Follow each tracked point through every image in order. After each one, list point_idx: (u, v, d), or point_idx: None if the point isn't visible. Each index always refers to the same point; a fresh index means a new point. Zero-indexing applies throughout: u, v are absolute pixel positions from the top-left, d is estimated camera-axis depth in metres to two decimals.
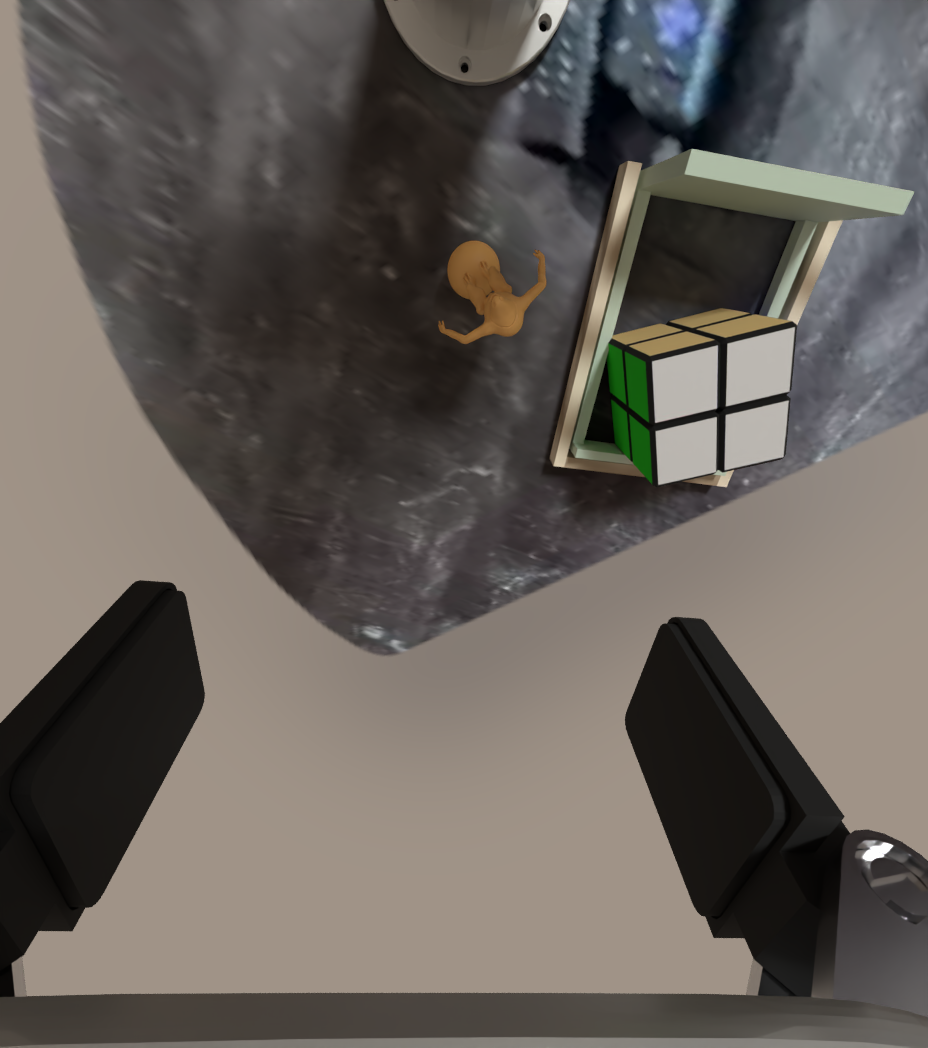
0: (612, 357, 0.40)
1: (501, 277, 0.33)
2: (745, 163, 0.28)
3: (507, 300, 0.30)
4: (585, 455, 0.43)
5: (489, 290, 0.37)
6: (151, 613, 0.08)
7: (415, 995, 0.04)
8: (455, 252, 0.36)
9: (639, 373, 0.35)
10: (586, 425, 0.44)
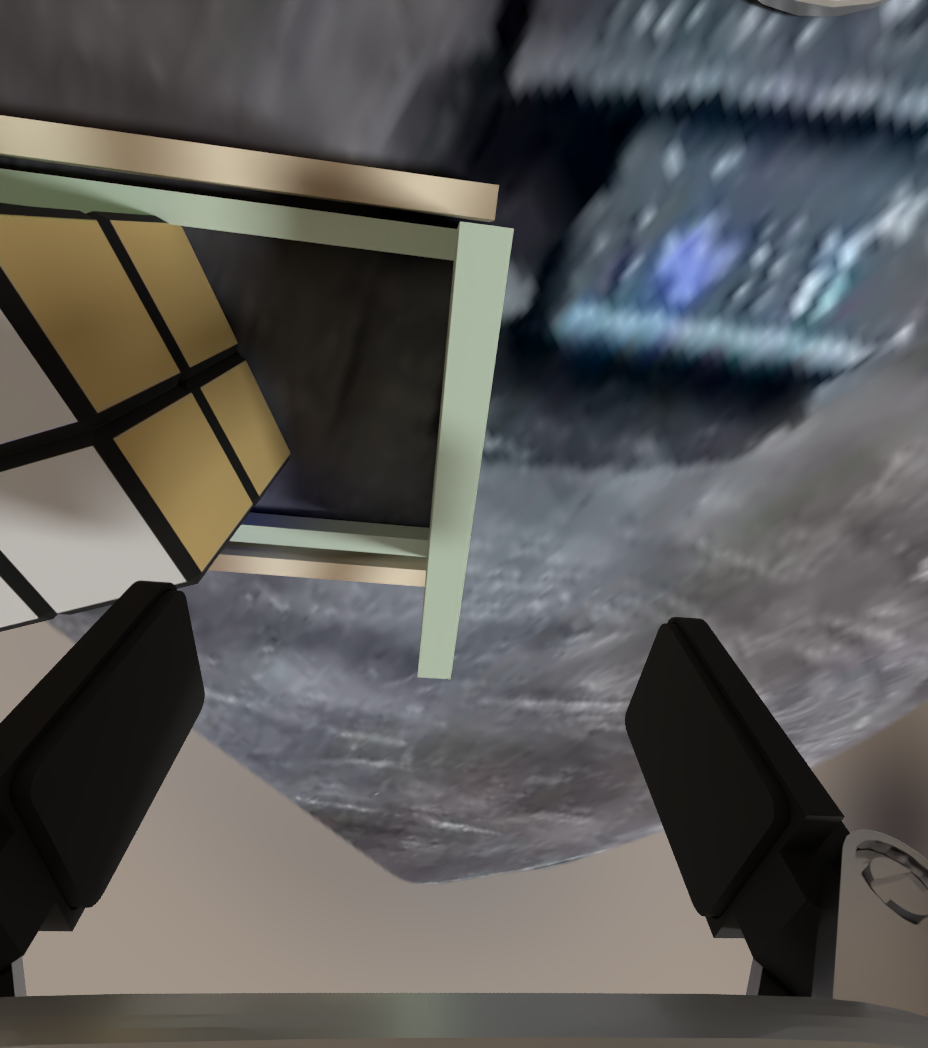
0: None
1: None
2: (484, 381, 0.12)
3: None
4: None
5: None
6: (151, 613, 0.08)
7: (413, 996, 0.03)
8: None
9: None
10: None
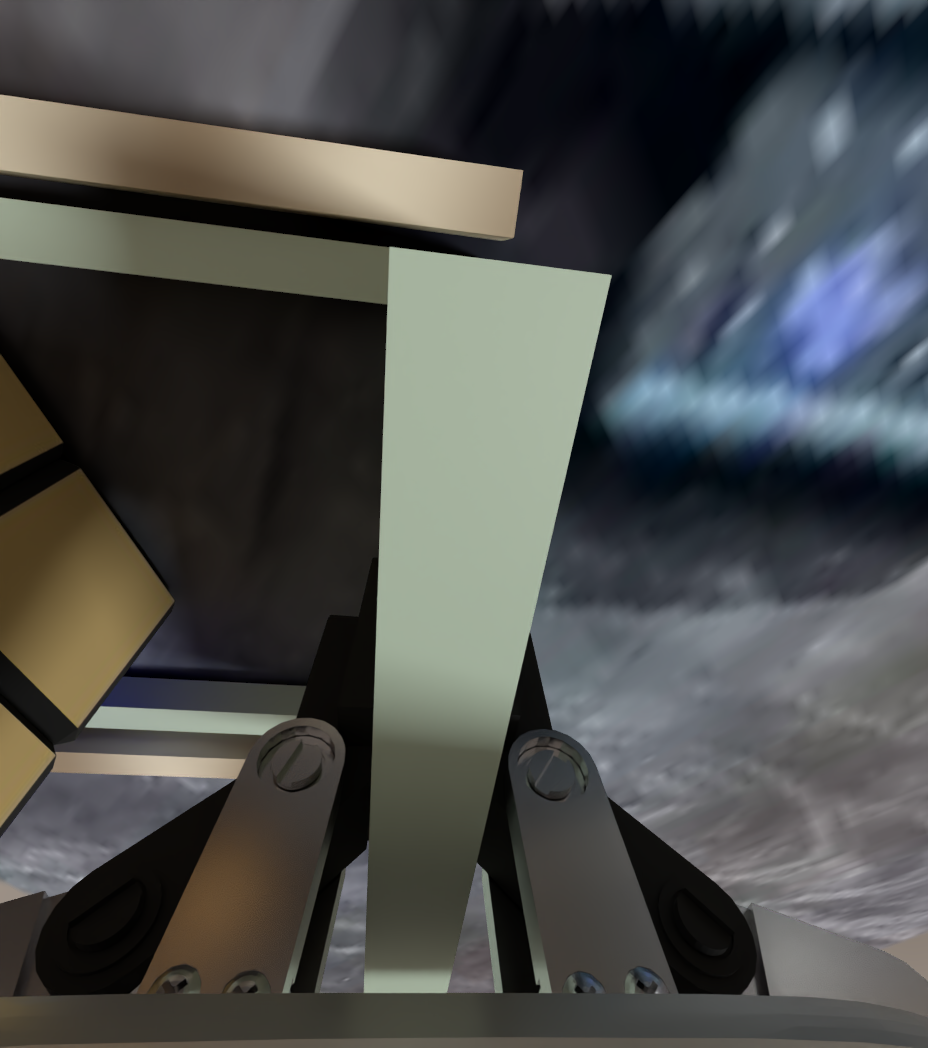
0: None
1: None
2: (490, 705, 0.04)
3: None
4: None
5: None
6: None
7: (415, 996, 0.03)
8: None
9: None
10: None
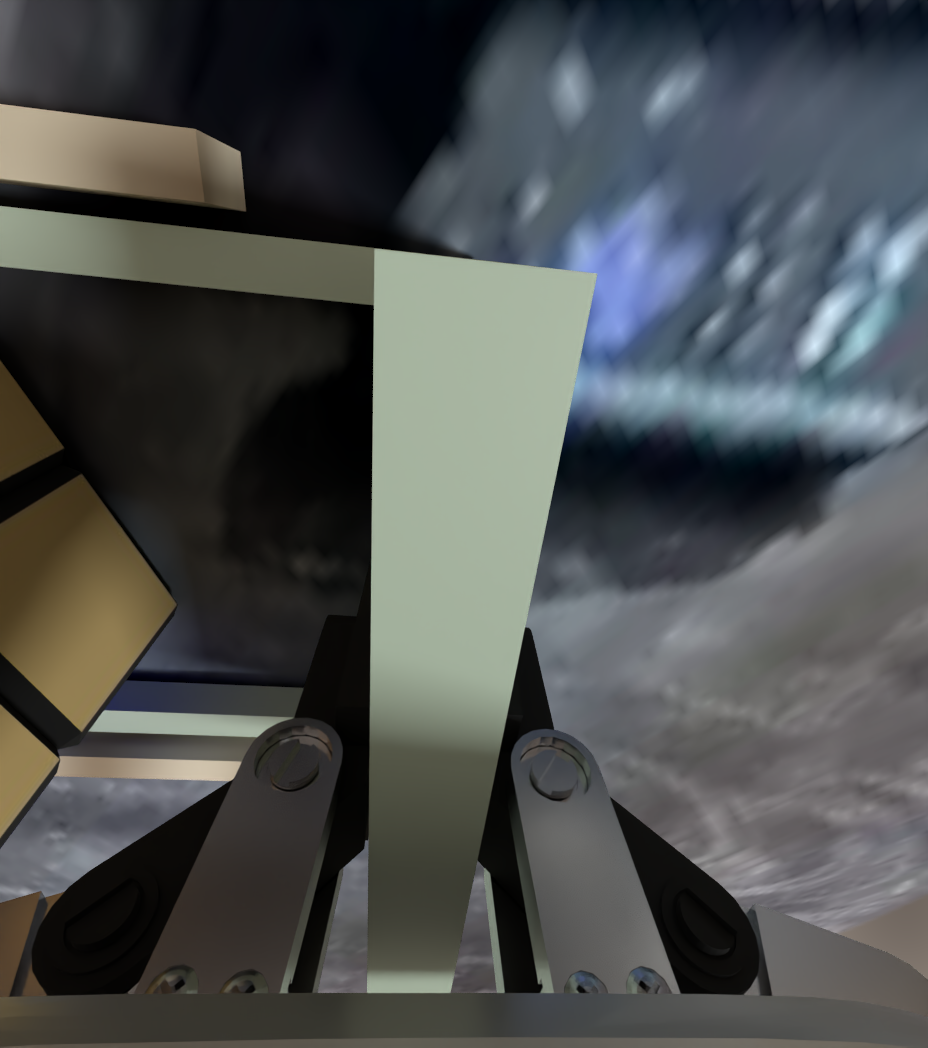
0: None
1: None
2: (486, 705, 0.04)
3: None
4: None
5: None
6: None
7: (415, 995, 0.04)
8: None
9: None
10: None
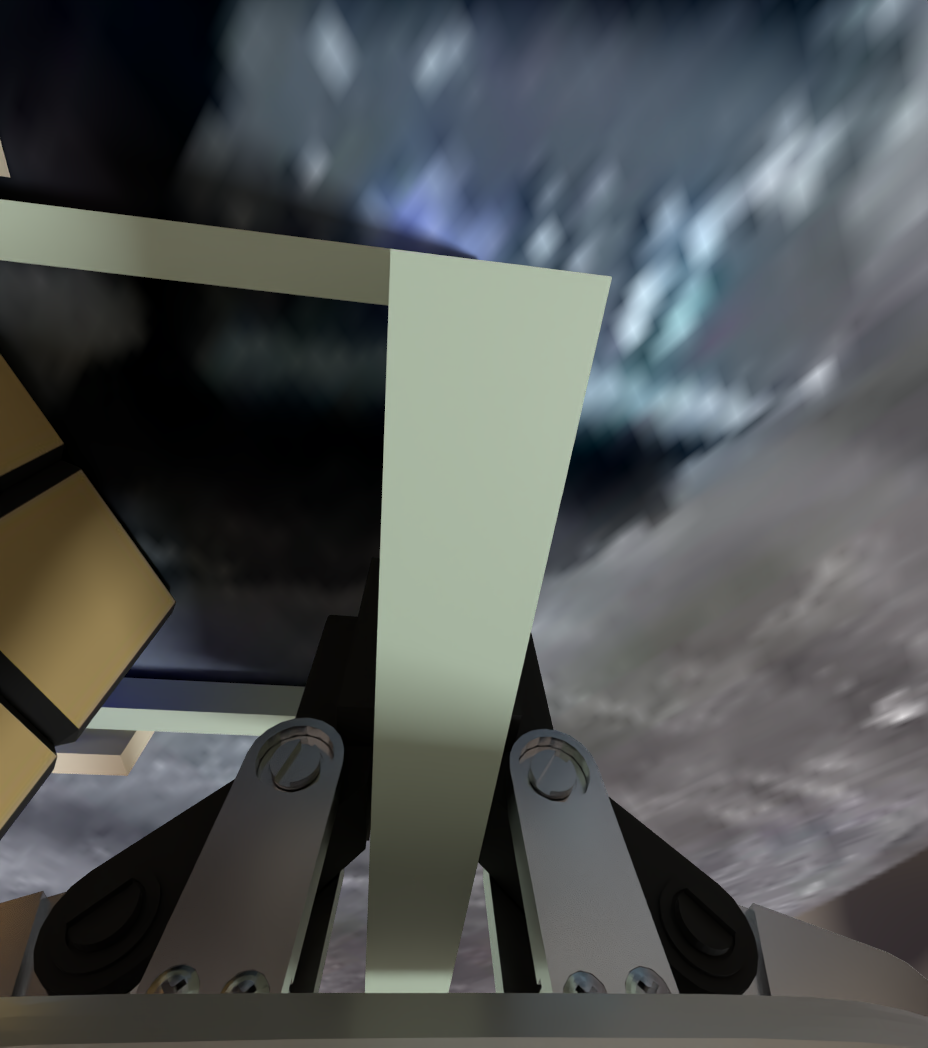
0: None
1: None
2: (491, 706, 0.04)
3: None
4: None
5: None
6: None
7: (415, 994, 0.04)
8: None
9: None
10: None
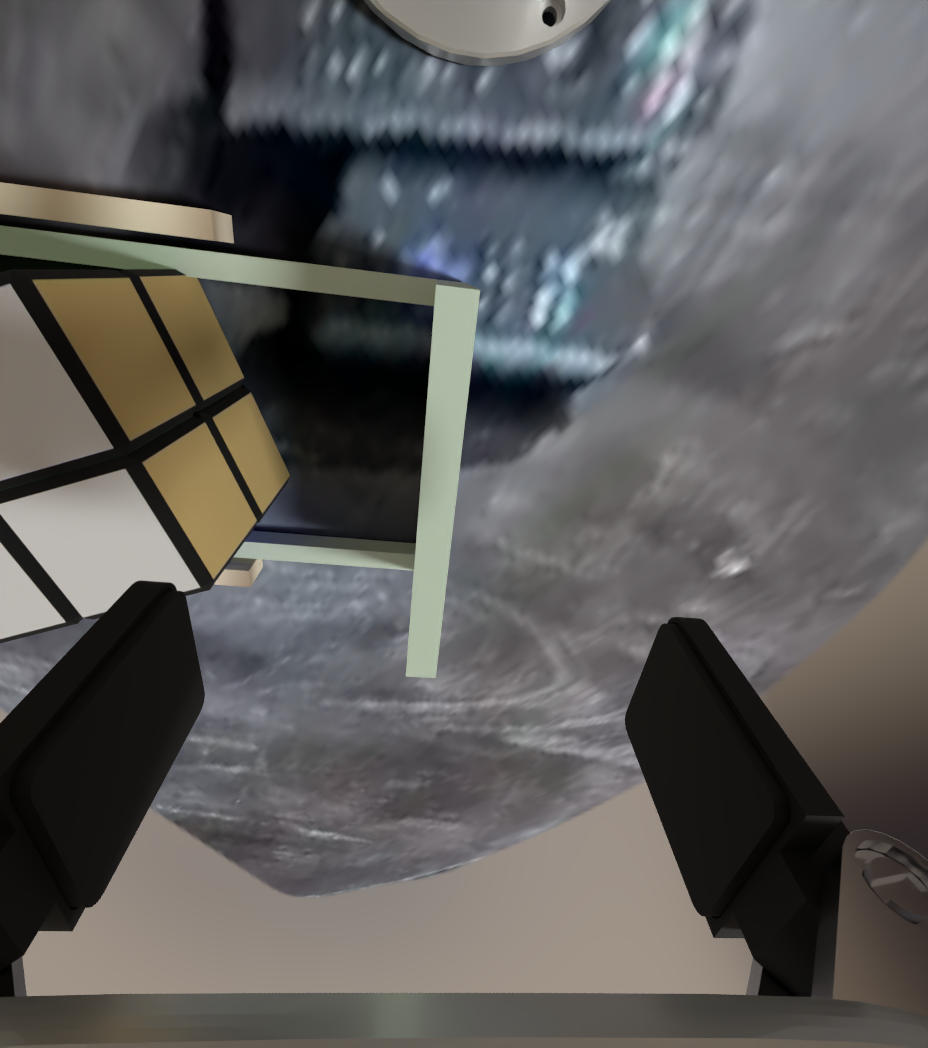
0: None
1: None
2: (459, 412, 0.15)
3: None
4: None
5: None
6: (151, 613, 0.08)
7: (416, 996, 0.03)
8: None
9: None
10: None
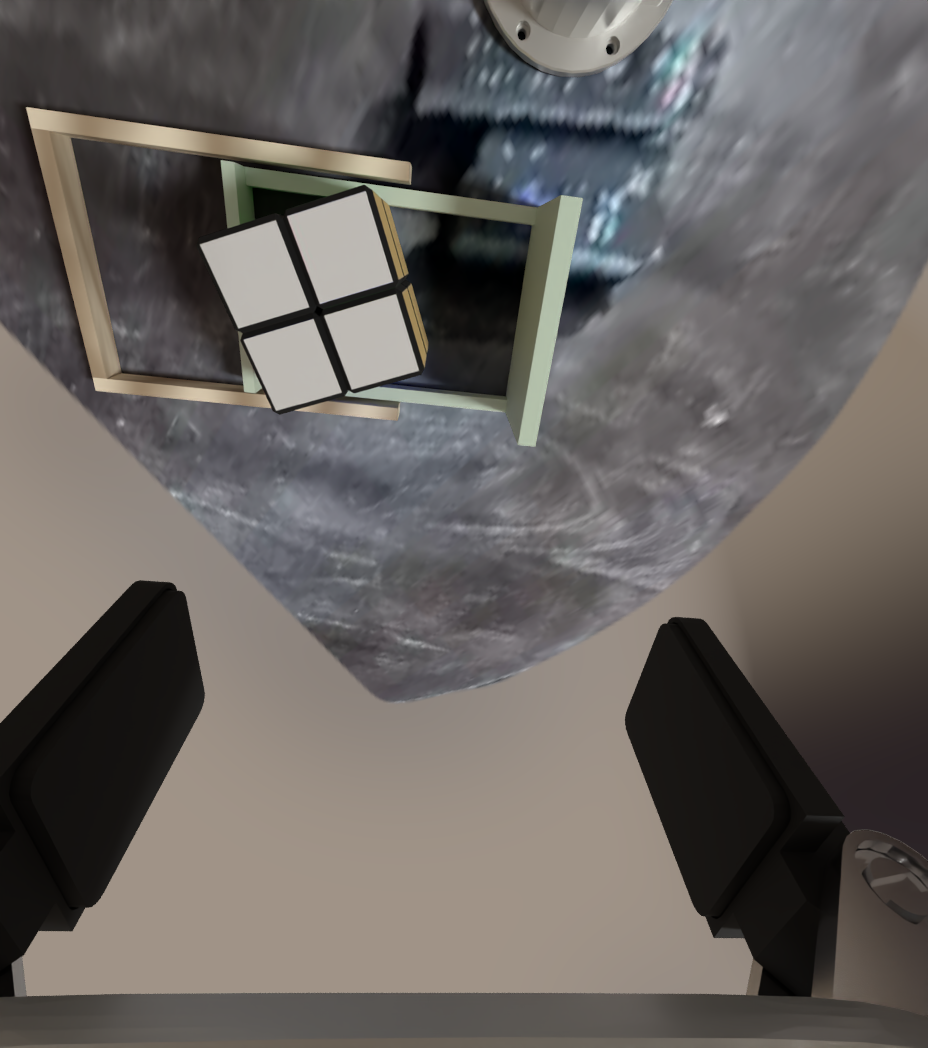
0: None
1: None
2: (566, 267, 0.28)
3: None
4: (227, 177, 0.30)
5: None
6: (151, 613, 0.08)
7: (415, 995, 0.04)
8: None
9: None
10: (272, 185, 0.32)
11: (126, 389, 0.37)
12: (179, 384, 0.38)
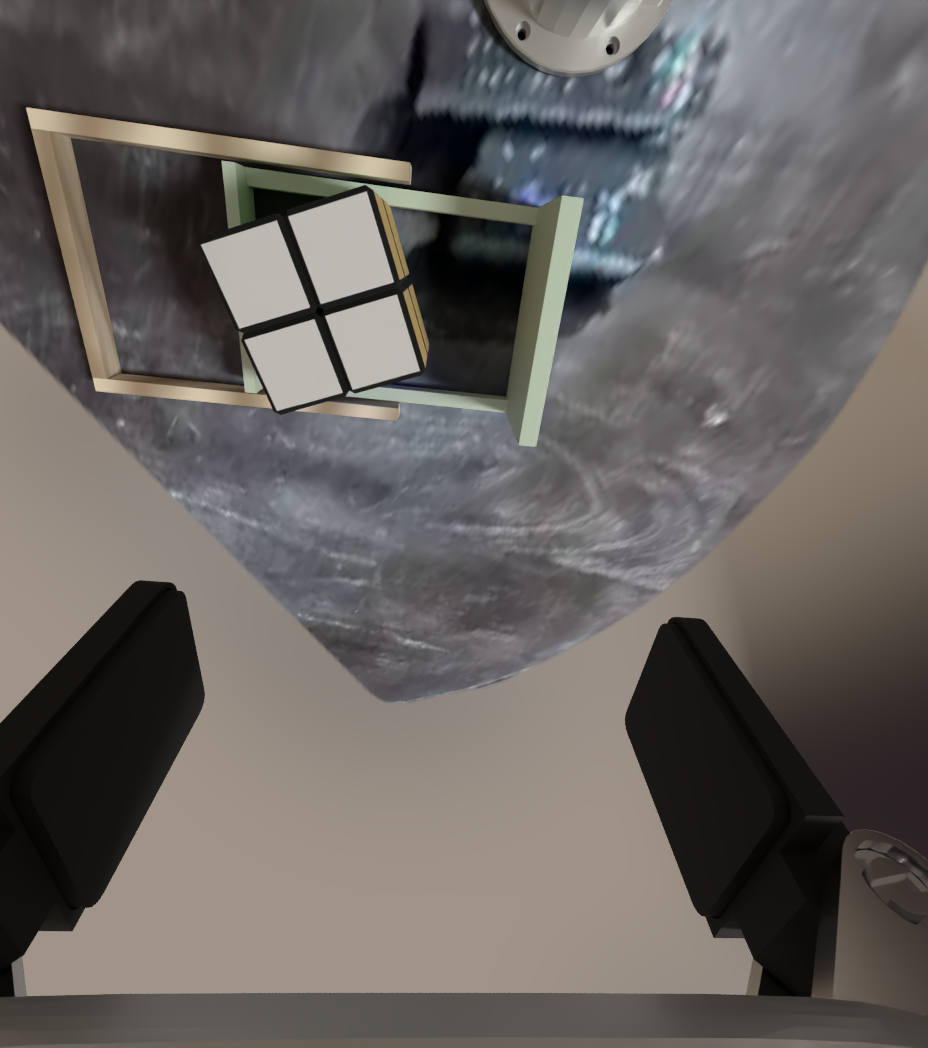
0: None
1: None
2: (567, 268, 0.28)
3: None
4: (228, 178, 0.30)
5: None
6: (151, 613, 0.08)
7: (415, 996, 0.03)
8: None
9: None
10: (273, 186, 0.32)
11: (126, 389, 0.37)
12: (179, 384, 0.38)
